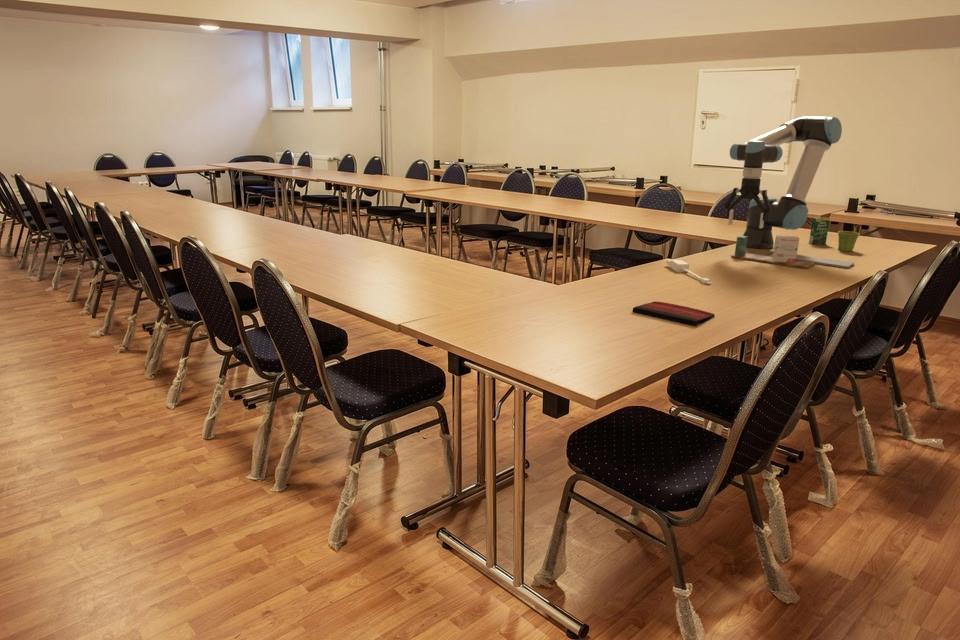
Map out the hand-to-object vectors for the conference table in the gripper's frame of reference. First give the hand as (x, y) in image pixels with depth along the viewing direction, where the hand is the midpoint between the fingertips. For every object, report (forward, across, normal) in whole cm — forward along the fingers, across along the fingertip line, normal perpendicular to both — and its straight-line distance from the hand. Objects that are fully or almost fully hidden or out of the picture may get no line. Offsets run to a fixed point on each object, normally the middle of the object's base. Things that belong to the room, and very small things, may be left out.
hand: (745, 226), depth 294 cm
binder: (+12, +18, -109) cm, 111 cm away
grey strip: (+14, +26, +13) cm, 32 cm away
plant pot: (+15, +31, +53) cm, 63 cm away
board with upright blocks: (+14, +13, -1) cm, 19 cm away
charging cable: (+13, -2, -52) cm, 54 cm away
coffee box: (+16, +16, +62) cm, 66 cm away
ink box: (+14, +18, -1) cm, 23 cm away
